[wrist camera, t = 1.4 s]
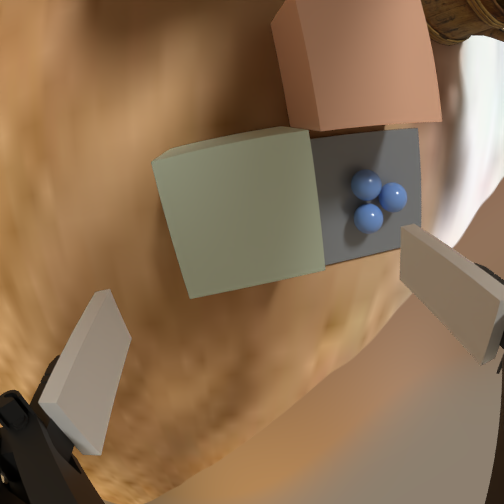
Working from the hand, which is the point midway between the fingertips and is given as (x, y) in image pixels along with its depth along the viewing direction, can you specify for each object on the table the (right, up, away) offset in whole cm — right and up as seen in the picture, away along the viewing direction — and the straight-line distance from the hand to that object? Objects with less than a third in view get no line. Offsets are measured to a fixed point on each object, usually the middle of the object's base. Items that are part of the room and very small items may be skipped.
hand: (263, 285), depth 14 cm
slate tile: (+11, +7, +18) cm, 22 cm away
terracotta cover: (+7, +18, +12) cm, 23 cm away
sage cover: (-2, +7, +16) cm, 18 cm away
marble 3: (+13, +7, +17) cm, 23 cm away
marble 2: (+11, +5, +18) cm, 22 cm away
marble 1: (+10, +8, +17) cm, 21 cm away
